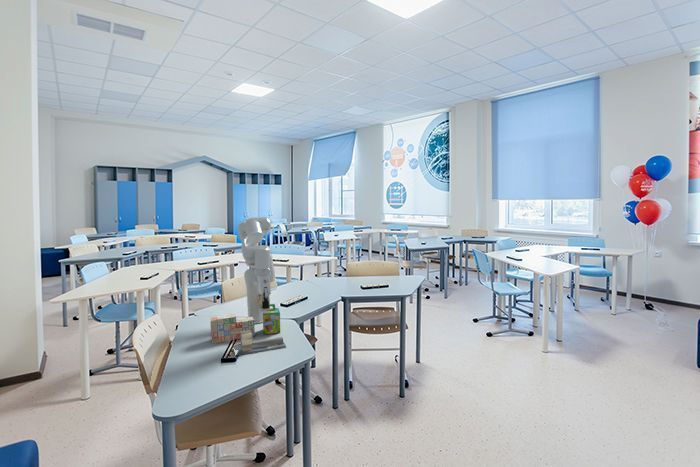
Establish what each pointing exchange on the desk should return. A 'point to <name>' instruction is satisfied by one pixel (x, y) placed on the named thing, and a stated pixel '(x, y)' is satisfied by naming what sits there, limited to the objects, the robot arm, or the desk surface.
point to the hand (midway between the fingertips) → (264, 306)
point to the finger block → (261, 302)
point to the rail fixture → (257, 344)
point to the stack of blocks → (230, 327)
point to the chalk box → (271, 320)
